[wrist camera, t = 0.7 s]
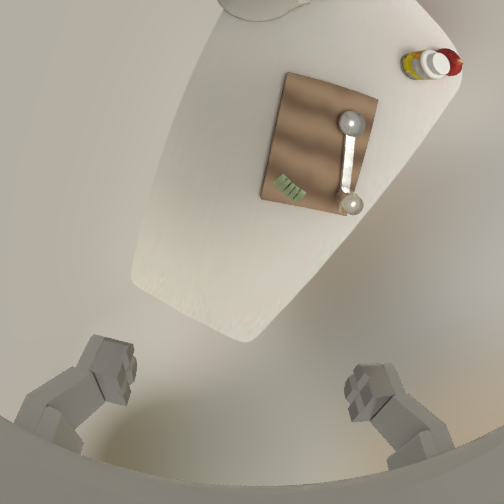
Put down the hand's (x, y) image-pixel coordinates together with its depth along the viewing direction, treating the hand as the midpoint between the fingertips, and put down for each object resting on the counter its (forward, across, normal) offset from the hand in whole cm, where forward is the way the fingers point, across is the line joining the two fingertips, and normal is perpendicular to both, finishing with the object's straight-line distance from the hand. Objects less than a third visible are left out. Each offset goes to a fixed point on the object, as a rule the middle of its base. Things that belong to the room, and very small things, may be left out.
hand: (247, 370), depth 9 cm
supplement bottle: (+44, -28, -25) cm, 58 cm away
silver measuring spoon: (+42, -17, -3) cm, 45 cm away
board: (+44, -12, -4) cm, 46 cm away
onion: (+44, -34, -29) cm, 63 cm away
